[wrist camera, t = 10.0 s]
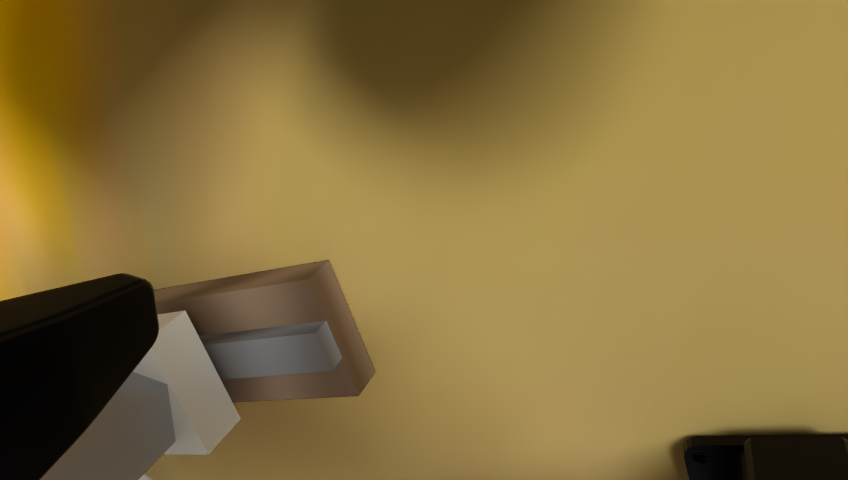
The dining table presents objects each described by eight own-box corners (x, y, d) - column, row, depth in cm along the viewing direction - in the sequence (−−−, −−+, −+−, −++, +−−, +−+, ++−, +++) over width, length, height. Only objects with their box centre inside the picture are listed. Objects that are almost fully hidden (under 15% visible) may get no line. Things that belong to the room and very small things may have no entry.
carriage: (185, 310, 23) (-117, 544, 14) (240, 419, 25) (-1, 688, 16) (113, 320, 25) (-194, 534, 16) (170, 421, 26) (-83, 665, 18)
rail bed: (329, 260, 23) (227, 355, 18) (375, 371, 25) (294, 488, 19) (114, 296, 28) (-11, 378, 23) (163, 386, 30) (56, 481, 25)
